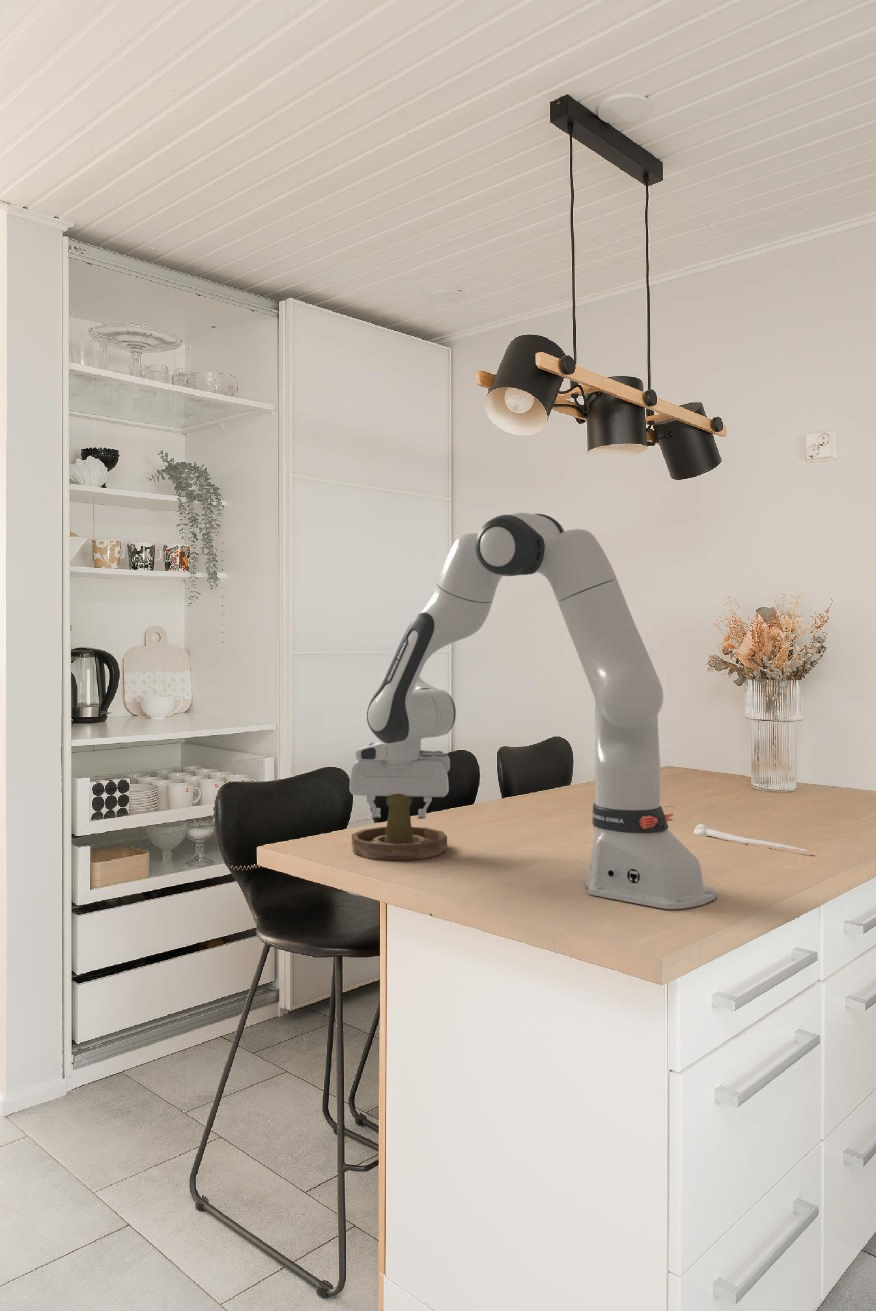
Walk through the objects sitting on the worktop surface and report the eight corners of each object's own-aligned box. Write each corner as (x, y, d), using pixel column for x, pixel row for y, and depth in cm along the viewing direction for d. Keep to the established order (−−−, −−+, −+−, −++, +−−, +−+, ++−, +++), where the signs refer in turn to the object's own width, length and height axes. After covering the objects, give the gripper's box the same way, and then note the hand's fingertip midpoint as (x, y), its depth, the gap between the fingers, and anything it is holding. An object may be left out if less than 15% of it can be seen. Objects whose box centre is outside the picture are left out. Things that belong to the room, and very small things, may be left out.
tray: (464, 851, 191) (464, 836, 191) (390, 865, 179) (390, 849, 179) (406, 836, 205) (406, 823, 205) (334, 848, 193) (334, 834, 193)
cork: (409, 849, 188) (409, 794, 188) (380, 847, 190) (380, 793, 190) (417, 843, 194) (417, 790, 194) (389, 841, 196) (389, 788, 195)
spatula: (820, 855, 190) (820, 841, 190) (810, 858, 187) (810, 844, 187) (701, 834, 211) (701, 821, 211) (690, 836, 209) (690, 824, 209)
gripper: (451, 749, 194) (450, 816, 194) (353, 747, 196) (353, 814, 196) (449, 752, 188) (448, 821, 188) (347, 751, 189) (347, 819, 190)
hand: (399, 817), depth 192 cm, fingers open, 8 cm apart
